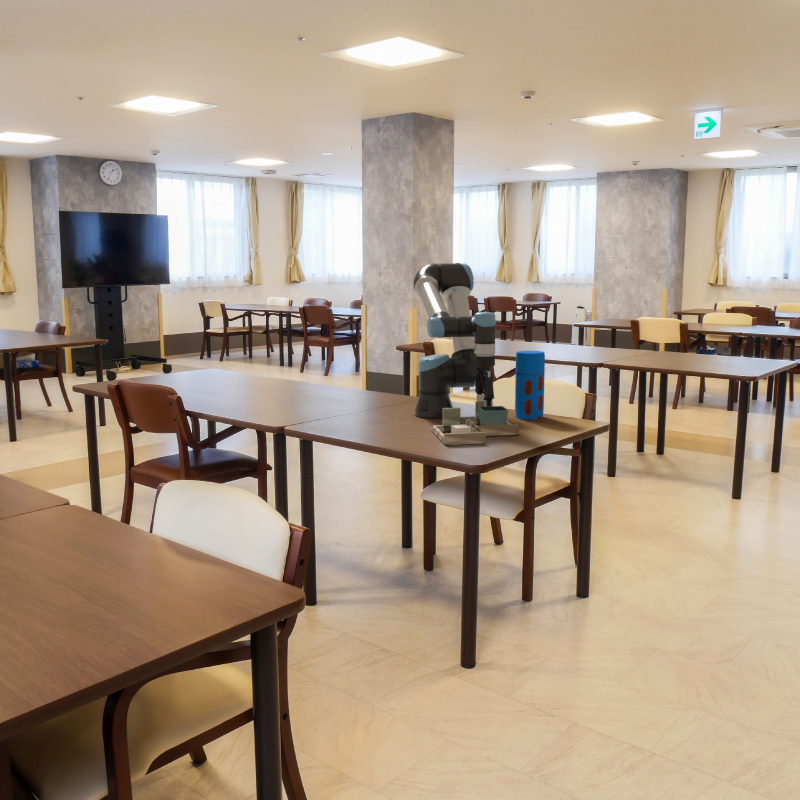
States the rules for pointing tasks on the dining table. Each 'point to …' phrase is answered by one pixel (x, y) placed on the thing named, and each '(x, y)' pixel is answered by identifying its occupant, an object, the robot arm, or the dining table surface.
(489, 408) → the flower pot
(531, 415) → the thermos
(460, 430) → the cream cube
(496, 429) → the oak sled
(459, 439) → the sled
